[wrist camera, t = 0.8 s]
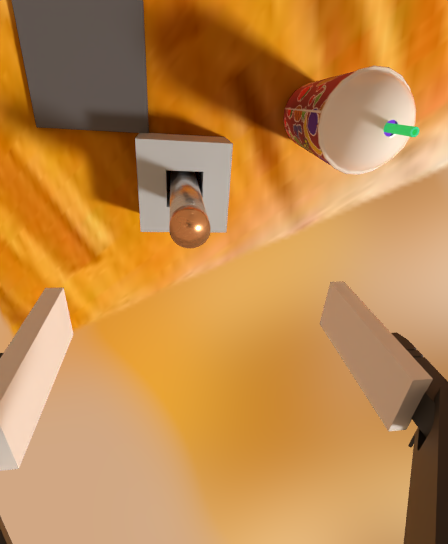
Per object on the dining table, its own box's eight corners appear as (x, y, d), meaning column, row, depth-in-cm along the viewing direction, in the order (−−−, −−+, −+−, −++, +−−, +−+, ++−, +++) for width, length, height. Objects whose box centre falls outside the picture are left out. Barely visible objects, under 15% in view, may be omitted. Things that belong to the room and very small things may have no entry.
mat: (11, -14, 30) (8, -16, 29) (143, 1, 32) (142, 0, 31) (38, 126, 36) (36, 127, 35) (148, 132, 38) (148, 133, 37)
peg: (170, 163, 40) (168, 209, 24) (195, 164, 40) (211, 210, 24) (170, 189, 41) (169, 248, 25) (195, 190, 42) (209, 248, 26)
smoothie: (269, 149, 40) (342, 191, 23) (279, 71, 36) (377, 52, 19) (331, 152, 42) (444, 194, 24) (347, 78, 38) (496, 65, 20)
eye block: (140, 132, 37) (135, 138, 32) (224, 137, 39) (232, 143, 34) (144, 214, 42) (140, 231, 37) (219, 215, 44) (226, 232, 39)
